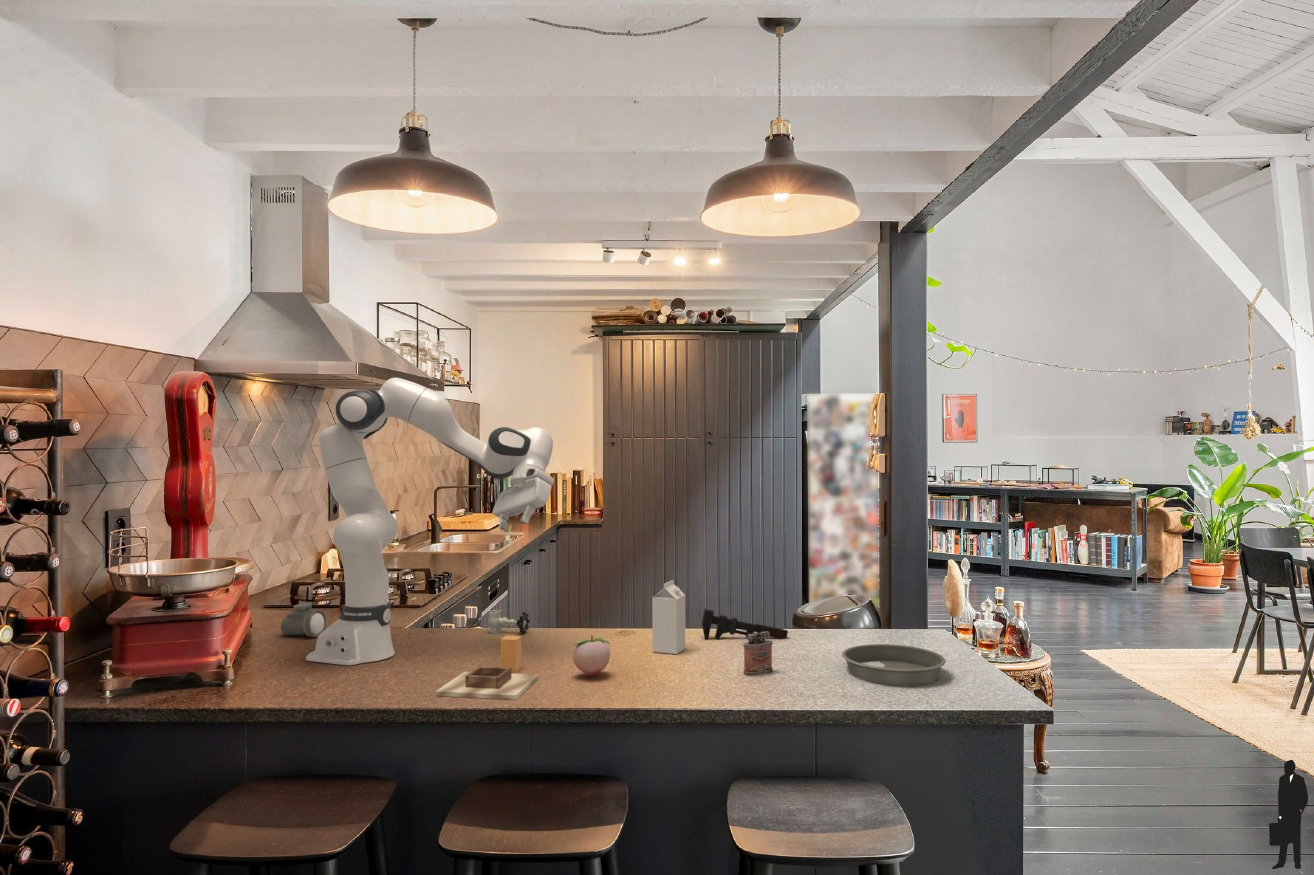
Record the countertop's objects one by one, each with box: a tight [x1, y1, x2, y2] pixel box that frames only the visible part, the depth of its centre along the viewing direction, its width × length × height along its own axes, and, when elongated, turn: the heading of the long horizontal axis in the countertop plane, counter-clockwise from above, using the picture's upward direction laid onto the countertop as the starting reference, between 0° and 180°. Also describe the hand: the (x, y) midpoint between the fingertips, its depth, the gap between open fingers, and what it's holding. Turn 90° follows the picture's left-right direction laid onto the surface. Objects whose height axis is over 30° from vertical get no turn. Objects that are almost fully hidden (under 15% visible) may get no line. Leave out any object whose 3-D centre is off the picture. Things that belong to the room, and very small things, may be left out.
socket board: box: [435, 666, 540, 701], centre depth 179 cm, size 19×16×4 cm
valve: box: [488, 609, 530, 635], centre depth 234 cm, size 7×7×12 cm
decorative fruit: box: [572, 634, 611, 677], centre depth 187 cm, size 9×8×10 cm
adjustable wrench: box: [701, 608, 789, 641], centre depth 225 cm, size 8×3×25 cm
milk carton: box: [651, 579, 686, 655], centre depth 212 cm, size 7×7×19 cm
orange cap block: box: [500, 635, 522, 673], centre depth 194 cm, size 4×4×8 cm
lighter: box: [742, 631, 774, 677], centre depth 190 cm, size 8×3×10 cm, turn 117°
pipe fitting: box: [280, 601, 328, 638], centre depth 231 cm, size 12×8×10 cm
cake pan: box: [841, 643, 946, 687], centre depth 190 cm, size 25×25×4 cm
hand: (513, 525), depth 204 cm, fingers open, 8 cm apart
